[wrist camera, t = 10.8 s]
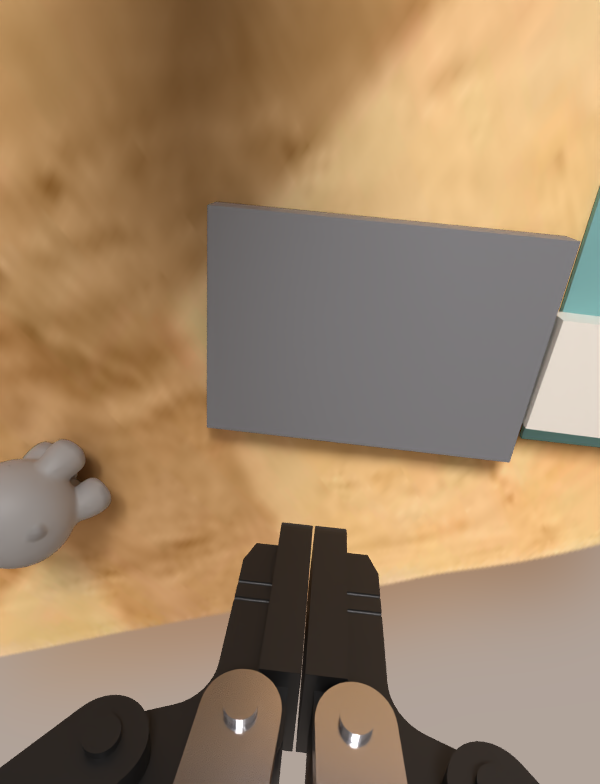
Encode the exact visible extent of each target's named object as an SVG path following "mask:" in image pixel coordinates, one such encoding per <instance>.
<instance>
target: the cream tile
mask: <svg viewBox="0 0 600 784" xmlns="http://www.w3.org/2000/svg"><path fill="white" fill-rule="evenodd" d="M522 424H523V425H524V427H525V428H526V429H533V430H541V431H548V432H556V433H564V434H572V435H579V436H587V437H595V438H600V316H591V315H583V314H575V313H567V312H559V311H558V313H557V316H556V319H555V322H554V325H553V329H552V332H551V335H550V338H549V341H548V344H547V347H546V350H545V353H544V356H543V360H542V363H541V366H540V369H539V372H538V375H537V378H536V381H535V384H534V388H533V391H532V394H531V397H530V400H529V403H528V406H527V409H526V412H525V415H524V419H523V422H522Z"/></svg>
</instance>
